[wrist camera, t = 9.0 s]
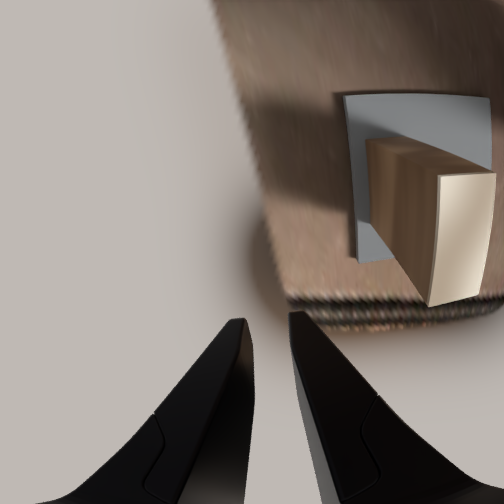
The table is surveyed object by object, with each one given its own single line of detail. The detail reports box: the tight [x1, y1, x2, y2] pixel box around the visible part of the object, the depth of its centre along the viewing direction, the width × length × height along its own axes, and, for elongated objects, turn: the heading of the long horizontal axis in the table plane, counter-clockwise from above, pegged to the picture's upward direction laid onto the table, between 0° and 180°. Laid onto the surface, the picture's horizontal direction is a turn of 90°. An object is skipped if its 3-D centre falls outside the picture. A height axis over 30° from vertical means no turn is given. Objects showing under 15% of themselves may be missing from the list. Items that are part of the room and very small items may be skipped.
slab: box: [365, 136, 496, 307], centre depth 13 cm, size 2×5×8 cm, turn 10°
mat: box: [343, 94, 492, 264], centre depth 16 cm, size 10×10×1 cm
